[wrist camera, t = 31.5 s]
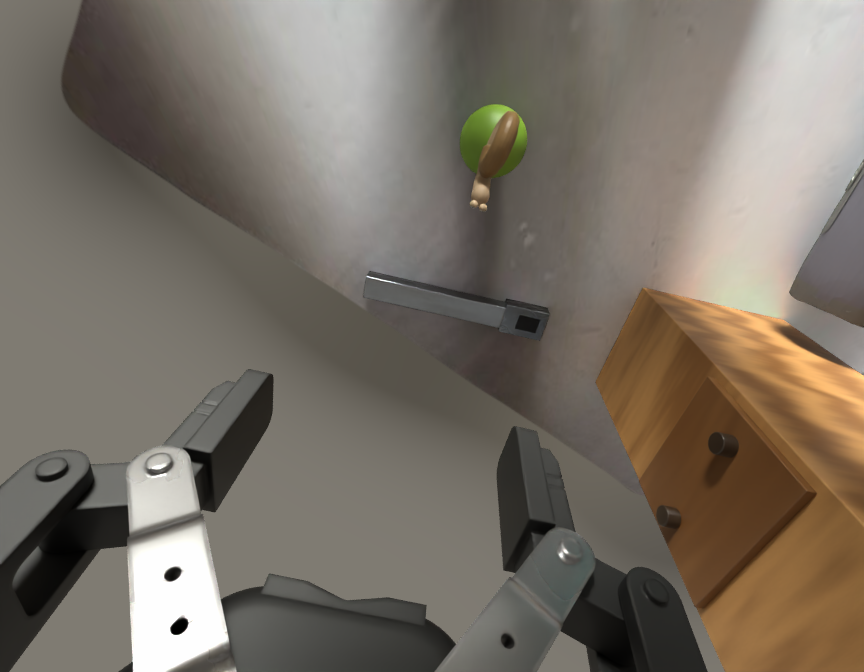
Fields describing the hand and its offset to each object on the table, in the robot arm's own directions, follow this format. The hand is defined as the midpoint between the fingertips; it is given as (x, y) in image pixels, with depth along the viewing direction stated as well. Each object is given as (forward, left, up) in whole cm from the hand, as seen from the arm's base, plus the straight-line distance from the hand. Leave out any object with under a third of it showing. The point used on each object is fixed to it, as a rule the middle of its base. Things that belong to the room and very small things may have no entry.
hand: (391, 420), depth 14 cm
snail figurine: (+1, +7, -30) cm, 31 cm away
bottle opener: (+7, -7, -30) cm, 32 cm away
